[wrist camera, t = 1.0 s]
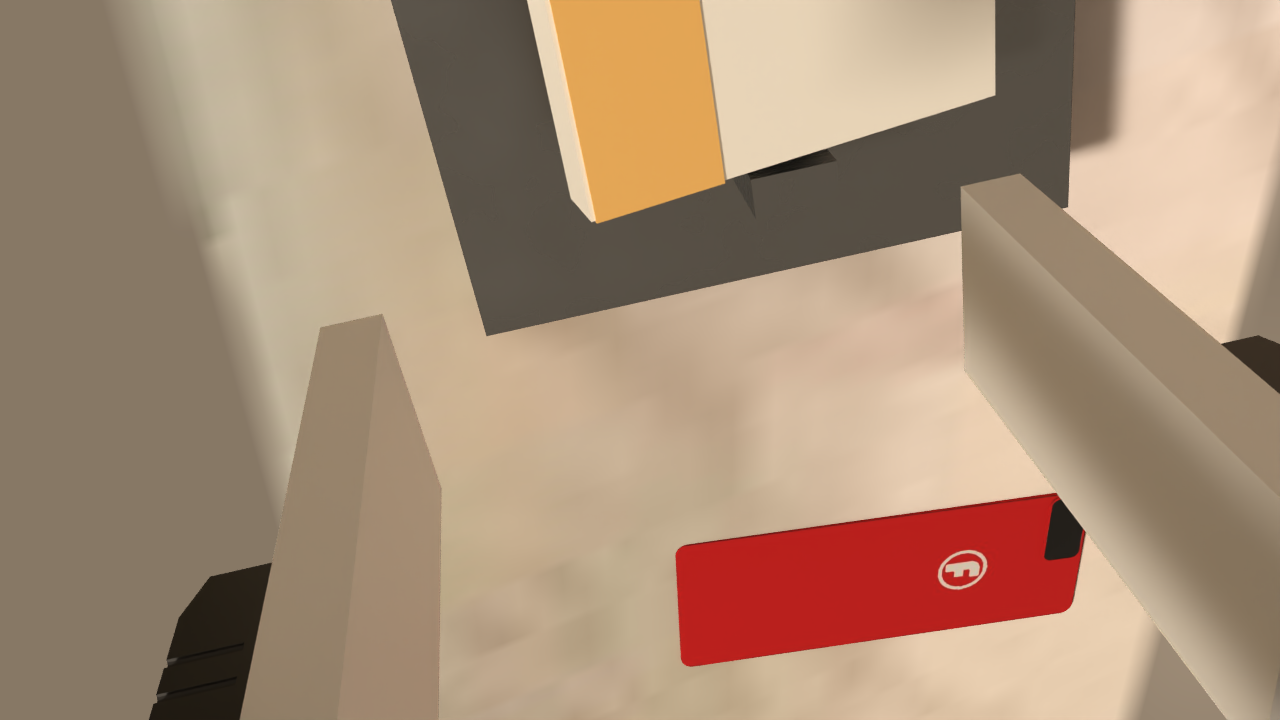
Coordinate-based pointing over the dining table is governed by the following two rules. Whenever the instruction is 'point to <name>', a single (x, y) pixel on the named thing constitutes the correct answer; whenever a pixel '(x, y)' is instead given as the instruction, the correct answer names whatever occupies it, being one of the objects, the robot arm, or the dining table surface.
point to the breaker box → (722, 215)
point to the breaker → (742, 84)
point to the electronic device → (876, 578)
